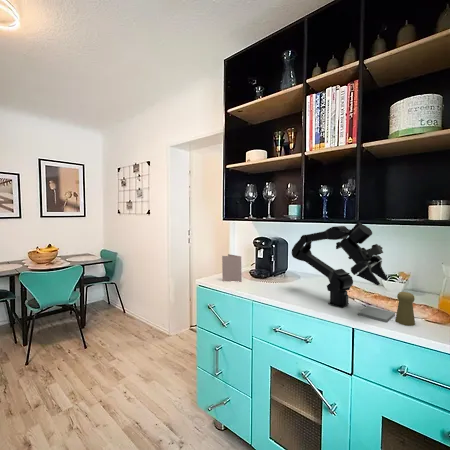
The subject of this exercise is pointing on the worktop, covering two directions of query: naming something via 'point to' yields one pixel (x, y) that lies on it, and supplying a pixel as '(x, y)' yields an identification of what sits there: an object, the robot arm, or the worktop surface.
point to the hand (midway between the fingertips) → (383, 282)
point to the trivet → (376, 314)
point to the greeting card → (231, 268)
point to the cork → (405, 309)
